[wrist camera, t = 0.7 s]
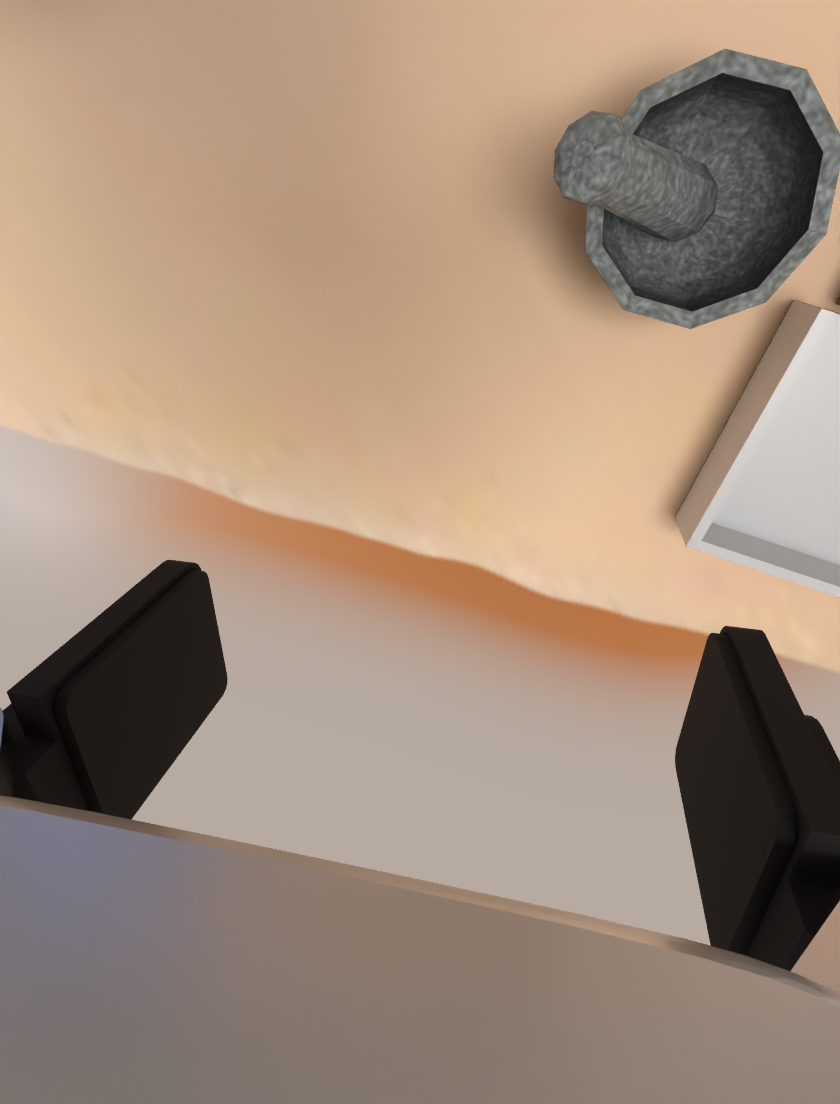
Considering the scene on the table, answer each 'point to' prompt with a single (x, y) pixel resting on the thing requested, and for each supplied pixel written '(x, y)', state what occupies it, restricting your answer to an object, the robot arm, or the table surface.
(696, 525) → the tray
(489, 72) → the table surface
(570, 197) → the mortar and pestle
